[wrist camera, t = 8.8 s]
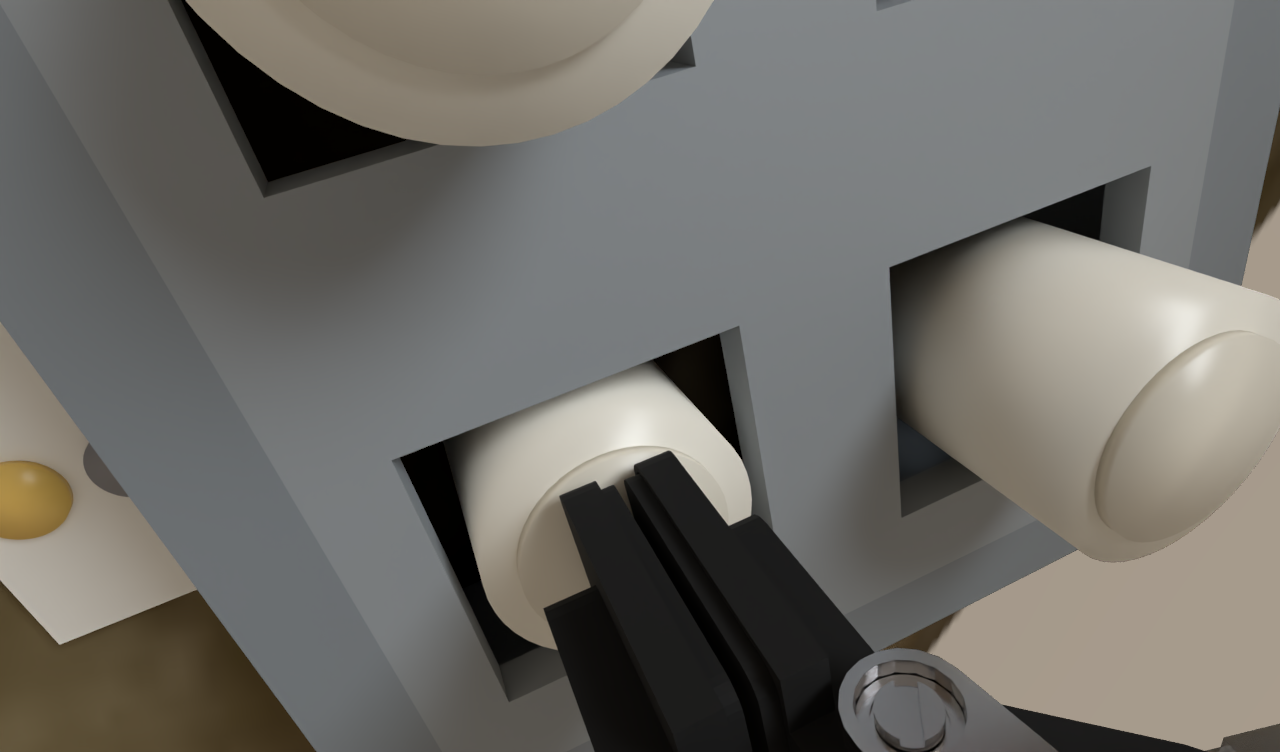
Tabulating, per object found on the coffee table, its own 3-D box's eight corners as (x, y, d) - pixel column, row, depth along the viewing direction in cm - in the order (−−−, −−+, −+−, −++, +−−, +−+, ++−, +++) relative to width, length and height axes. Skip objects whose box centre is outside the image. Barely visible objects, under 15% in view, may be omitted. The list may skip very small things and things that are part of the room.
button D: (617, 267, 14) (736, 376, 10) (661, 442, 17) (773, 589, 13) (402, 344, 14) (438, 496, 10) (477, 518, 16) (533, 703, 12)
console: (1088, -750, 11) (1560, -1205, 7) (1024, 390, 21) (1198, 488, 17) (-396, -653, 7) (-1348, -1512, 3) (392, 673, 17) (415, 886, 13)
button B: (1045, 176, 14) (1352, 252, 10) (1033, 369, 16) (1281, 500, 12) (847, 250, 13) (1092, 370, 9) (862, 445, 15) (1065, 614, 11)
